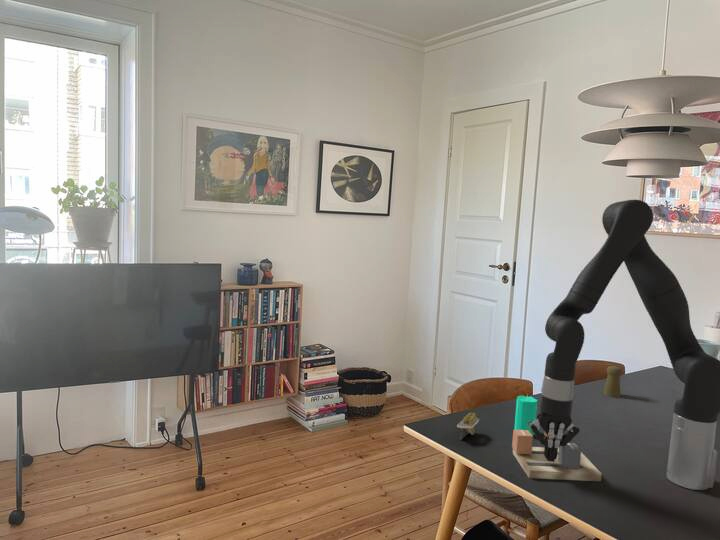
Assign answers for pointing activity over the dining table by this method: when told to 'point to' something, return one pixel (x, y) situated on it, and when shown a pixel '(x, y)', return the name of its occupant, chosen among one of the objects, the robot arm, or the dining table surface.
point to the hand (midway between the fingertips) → (550, 460)
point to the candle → (525, 413)
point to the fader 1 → (522, 442)
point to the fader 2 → (569, 456)
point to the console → (555, 467)
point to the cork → (613, 382)
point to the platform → (468, 425)
